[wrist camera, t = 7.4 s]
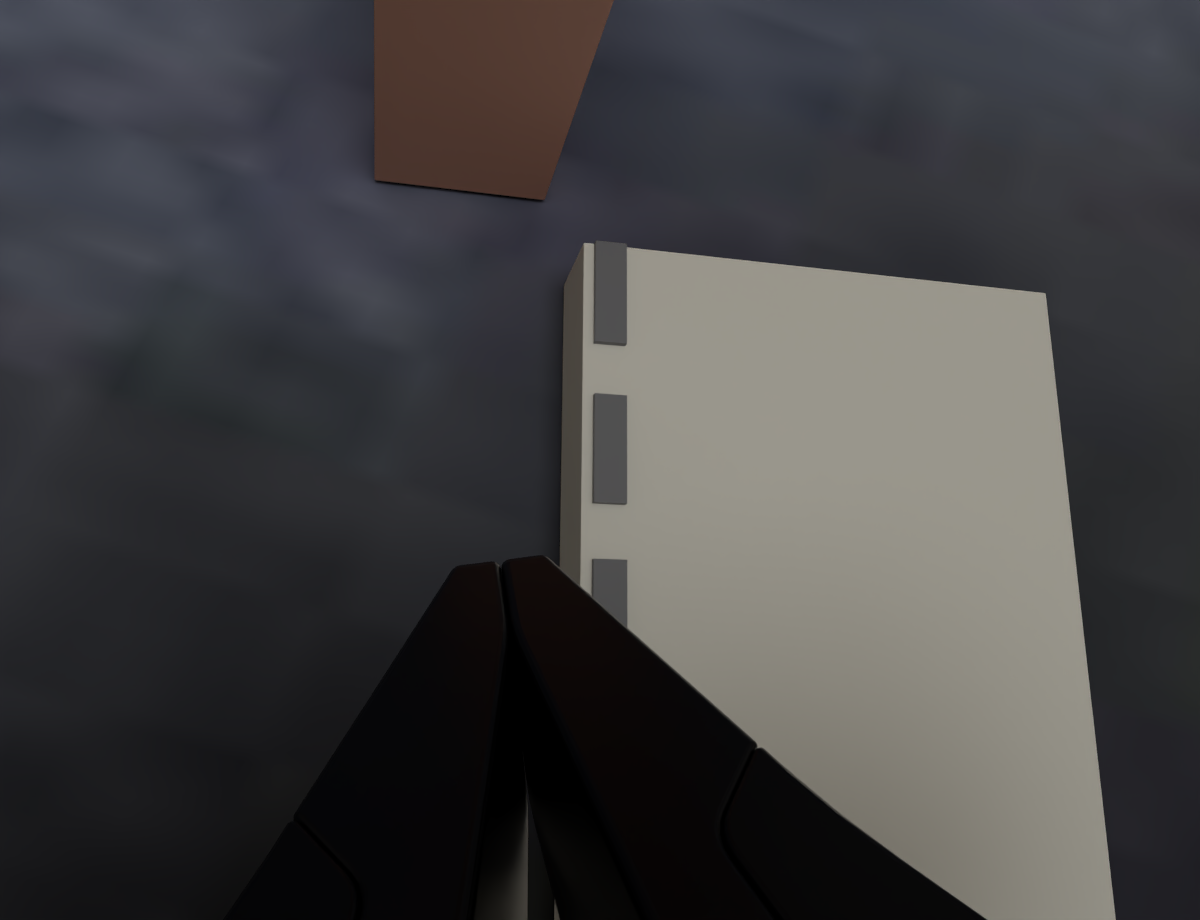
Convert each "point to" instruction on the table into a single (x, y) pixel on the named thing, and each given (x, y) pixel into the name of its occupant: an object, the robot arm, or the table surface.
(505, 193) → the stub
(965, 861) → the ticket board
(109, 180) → the table surface
